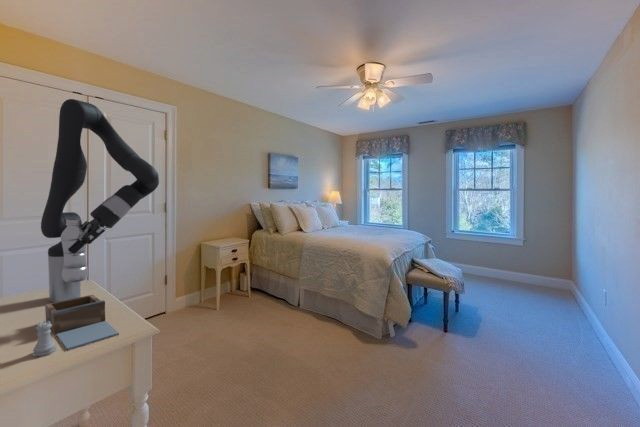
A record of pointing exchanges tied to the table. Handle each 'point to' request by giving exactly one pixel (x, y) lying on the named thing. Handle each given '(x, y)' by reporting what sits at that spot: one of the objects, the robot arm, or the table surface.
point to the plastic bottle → (72, 262)
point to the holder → (75, 313)
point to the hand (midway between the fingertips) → (67, 250)
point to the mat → (86, 335)
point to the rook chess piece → (44, 340)
